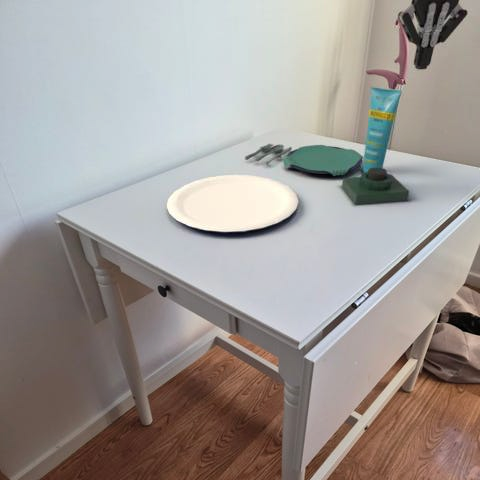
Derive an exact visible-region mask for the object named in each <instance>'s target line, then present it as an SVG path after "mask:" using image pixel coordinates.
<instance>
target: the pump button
mask: <svg viewBox="0 0 480 480" xmlns="http://www.w3.org/2000/svg"><path fill="white" fill-rule="evenodd" d="M386 173H388V171H387V170H386V169H385V168H384V167H383V168H370V169H369V170H368V175H367V178H368V179H370V180H375V181H383V180H385V178H386Z"/></svg>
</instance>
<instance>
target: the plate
mask: <svg viewBox="0 0 480 480" xmlns="http://www.w3.org/2000/svg"><path fill="white" fill-rule="evenodd" d="M298 206H299V198H298V196H297V193H296V192H295V191H294V190H293V189H292V188H291V187H290V186H288V185H286V184H284V183H283V182H281V181H277V180H275V179H272V178H268V177H264V176H263V177H262V176H258V175H247V174H225V175H224V174H223V175H218V176H209V177H204V178H202V179H197V180H194V181H192V182H189V183H187V184H184V185H183V186H181V187H180V188H178V189H177V190H175V191H173V193H172V194H171V195H170V196H169V198H168V199H167V203H166V209H167V211H168V213H169V216H171V217H172V218H173V219H174V220H175V221H176V222H178V223H180V224H181V225H184V226H186V227H189V228H192V229H195V230H201V231H204V232H212V233H224V234H227V233H228V234H229V233H230V234H231V233H246V232H252V231H257V230H258V231H259V230H263V229H265V228H268V227H272V226H274V225H278V224H279V223H281V222H283V221H286V220H287V219H289V218H290V217H291V216H292V215H293V214H294V213H295V212H296V211H297V208H298Z"/></svg>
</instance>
